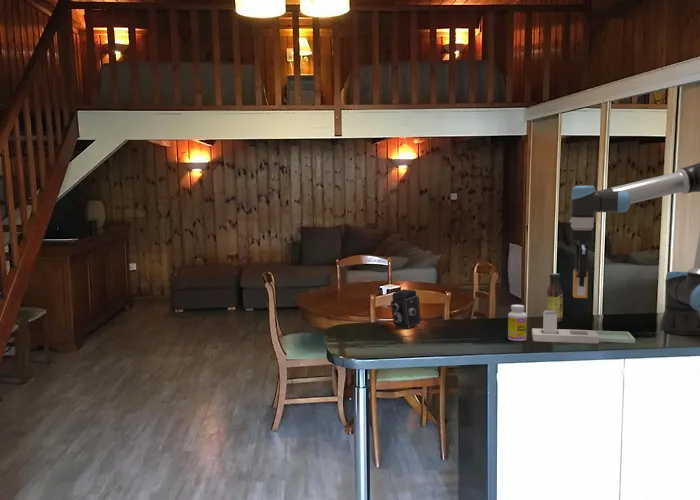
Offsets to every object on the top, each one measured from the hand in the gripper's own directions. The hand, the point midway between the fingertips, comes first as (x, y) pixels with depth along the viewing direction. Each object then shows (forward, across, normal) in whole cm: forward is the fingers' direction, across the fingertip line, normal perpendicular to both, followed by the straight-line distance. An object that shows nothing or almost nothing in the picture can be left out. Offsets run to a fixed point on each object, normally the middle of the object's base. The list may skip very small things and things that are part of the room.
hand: (580, 293), depth 218 cm
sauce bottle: (+17, -34, -6) cm, 39 cm away
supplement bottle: (+18, +2, -22) cm, 28 cm away
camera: (+18, -13, -66) cm, 69 cm away
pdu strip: (+17, 0, -5) cm, 18 cm away
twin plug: (+17, 0, -10) cm, 20 cm away
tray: (+17, -4, +12) cm, 22 cm away
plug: (+1, 0, 0) cm, 1 cm away
